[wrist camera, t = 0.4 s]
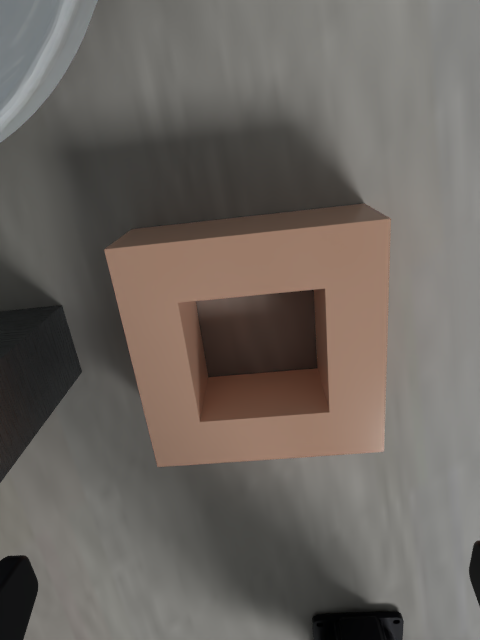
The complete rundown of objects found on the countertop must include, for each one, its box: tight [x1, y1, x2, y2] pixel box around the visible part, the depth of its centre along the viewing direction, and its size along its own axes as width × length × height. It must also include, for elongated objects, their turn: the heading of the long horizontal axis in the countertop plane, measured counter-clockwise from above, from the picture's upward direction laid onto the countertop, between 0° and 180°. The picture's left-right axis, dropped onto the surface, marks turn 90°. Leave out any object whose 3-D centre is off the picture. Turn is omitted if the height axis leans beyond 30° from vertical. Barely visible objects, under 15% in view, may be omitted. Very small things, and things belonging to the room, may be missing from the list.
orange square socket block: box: [104, 203, 391, 467], centre depth 20 cm, size 11×11×4 cm
